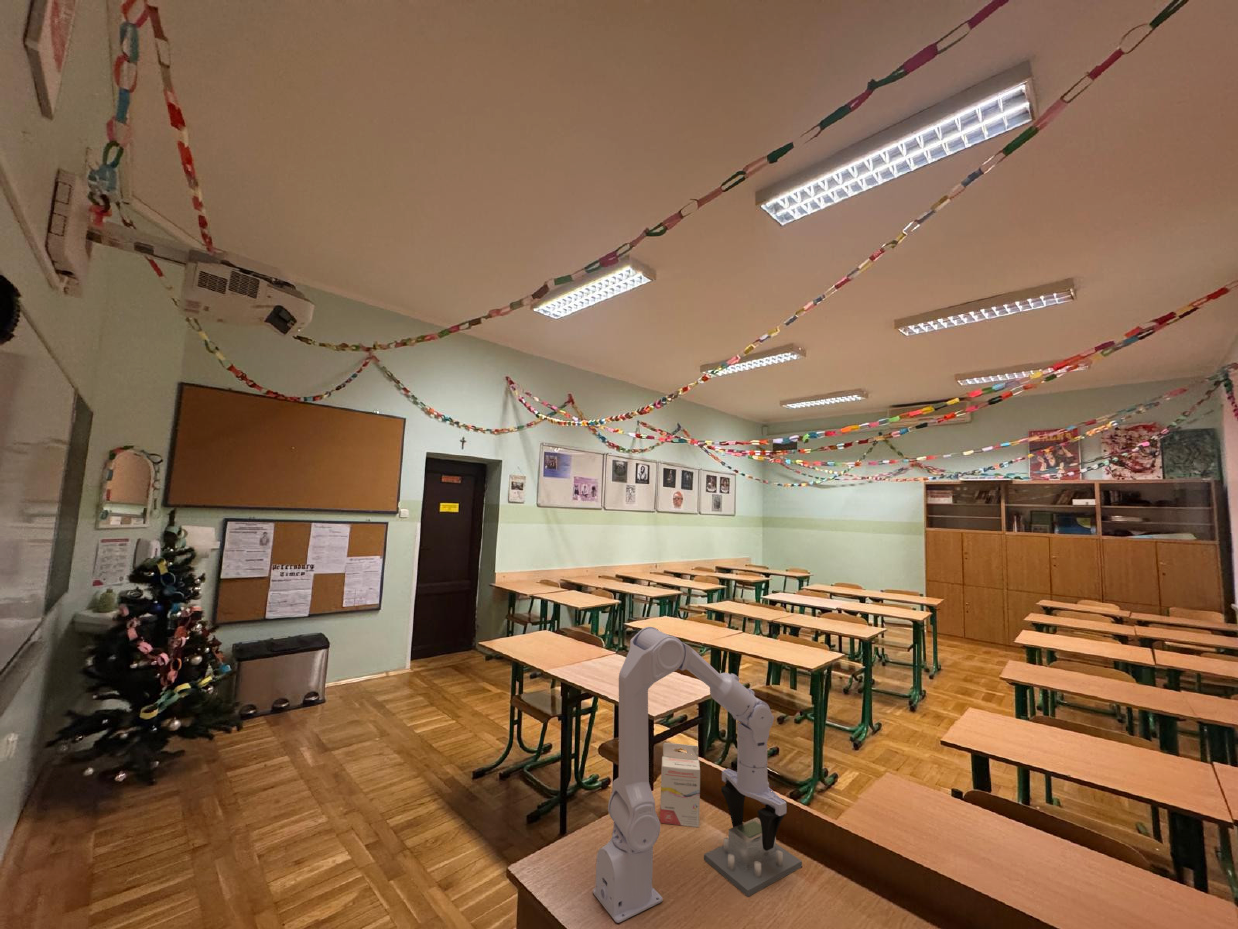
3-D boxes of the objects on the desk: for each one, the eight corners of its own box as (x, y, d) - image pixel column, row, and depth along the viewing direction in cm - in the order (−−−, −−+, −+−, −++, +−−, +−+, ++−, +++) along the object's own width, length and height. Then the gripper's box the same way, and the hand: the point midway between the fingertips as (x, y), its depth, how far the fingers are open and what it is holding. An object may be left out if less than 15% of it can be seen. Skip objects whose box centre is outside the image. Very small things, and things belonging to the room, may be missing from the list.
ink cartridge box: (659, 824, 103) (661, 751, 105) (660, 811, 108) (661, 741, 110) (699, 828, 102) (700, 754, 104) (698, 815, 107) (699, 744, 109)
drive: (746, 872, 88) (746, 842, 88) (728, 858, 91) (728, 829, 92) (776, 857, 92) (776, 828, 93) (758, 844, 96) (758, 816, 97)
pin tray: (747, 897, 83) (747, 878, 83) (703, 859, 92) (704, 842, 93) (802, 867, 91) (801, 849, 91) (756, 835, 100) (756, 819, 101)
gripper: (796, 772, 90) (797, 851, 88) (738, 743, 102) (738, 812, 100) (771, 781, 86) (772, 864, 85) (714, 750, 99) (714, 822, 97)
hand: (752, 837), depth 92 cm, fingers open, 7 cm apart
